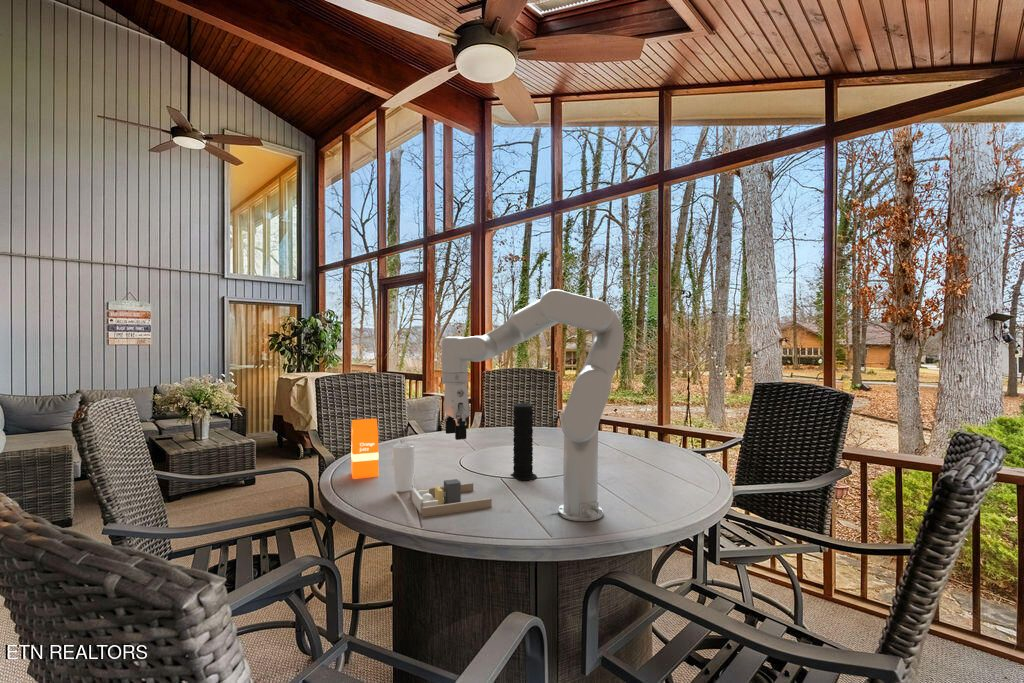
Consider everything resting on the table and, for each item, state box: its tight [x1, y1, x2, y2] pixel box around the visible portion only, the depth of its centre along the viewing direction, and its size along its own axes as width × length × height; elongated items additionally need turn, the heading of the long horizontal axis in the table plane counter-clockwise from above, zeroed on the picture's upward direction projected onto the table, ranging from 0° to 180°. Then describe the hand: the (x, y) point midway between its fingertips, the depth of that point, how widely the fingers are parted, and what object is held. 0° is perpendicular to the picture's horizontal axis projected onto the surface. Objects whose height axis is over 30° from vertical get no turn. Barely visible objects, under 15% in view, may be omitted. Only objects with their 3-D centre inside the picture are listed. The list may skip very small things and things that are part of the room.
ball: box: [422, 493, 435, 502], centre depth 147 cm, size 4×4×4 cm
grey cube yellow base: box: [434, 478, 462, 505], centre depth 149 cm, size 5×7×6 cm
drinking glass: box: [392, 442, 415, 494], centre depth 162 cm, size 7×7×15 cm
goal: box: [411, 487, 438, 514], centre depth 146 cm, size 11×5×4 cm, turn 23°
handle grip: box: [510, 402, 538, 482], centre depth 178 cm, size 10×26×10 cm
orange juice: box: [350, 418, 380, 480], centre depth 181 cm, size 8×9×20 cm
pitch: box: [409, 482, 493, 518], centre depth 149 cm, size 17×20×3 cm
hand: (455, 436), depth 150 cm, fingers open, 9 cm apart
